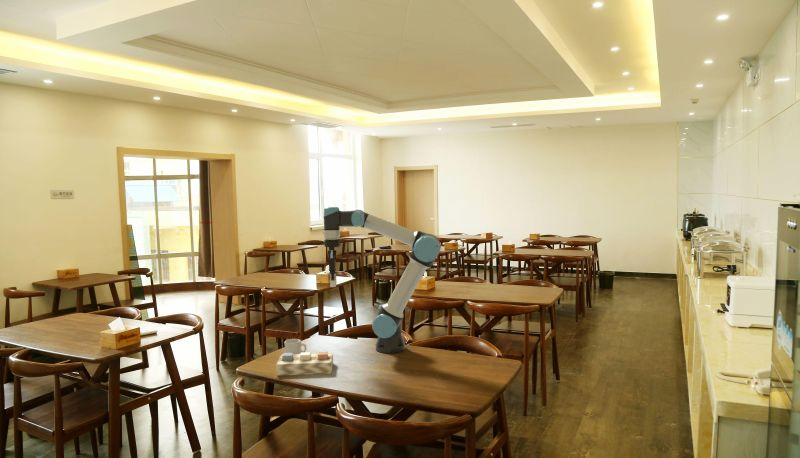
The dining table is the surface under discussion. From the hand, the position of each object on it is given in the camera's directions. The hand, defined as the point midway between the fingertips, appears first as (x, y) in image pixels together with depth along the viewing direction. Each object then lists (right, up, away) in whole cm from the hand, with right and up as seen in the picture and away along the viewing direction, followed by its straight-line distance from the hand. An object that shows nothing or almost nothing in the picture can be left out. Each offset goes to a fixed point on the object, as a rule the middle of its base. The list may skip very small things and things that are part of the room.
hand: (333, 286), depth 255 cm
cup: (-18, -35, +1) cm, 39 cm away
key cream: (-10, -33, -18) cm, 39 cm away
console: (-10, -36, -17) cm, 41 cm away
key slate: (-18, -33, -18) cm, 42 cm away
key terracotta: (-2, -33, -17) cm, 37 cm away
